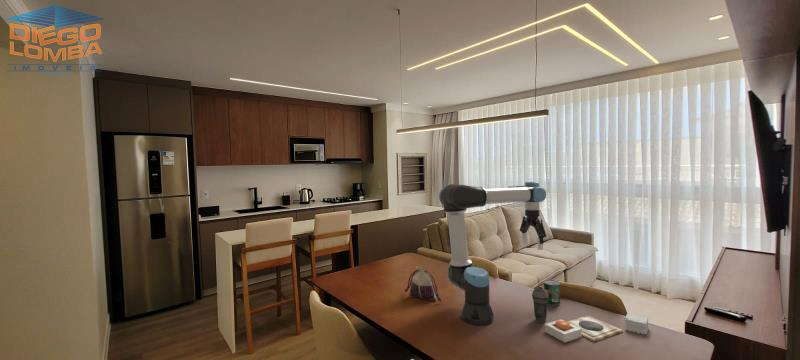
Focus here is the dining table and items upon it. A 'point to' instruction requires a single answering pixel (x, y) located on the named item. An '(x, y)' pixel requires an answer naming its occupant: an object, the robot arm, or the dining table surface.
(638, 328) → the small box
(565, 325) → the button
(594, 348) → the dining table surface
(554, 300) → the canned tomato
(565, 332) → the button housing
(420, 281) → the pouch
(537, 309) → the beverage cup
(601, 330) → the beige flat square slab
